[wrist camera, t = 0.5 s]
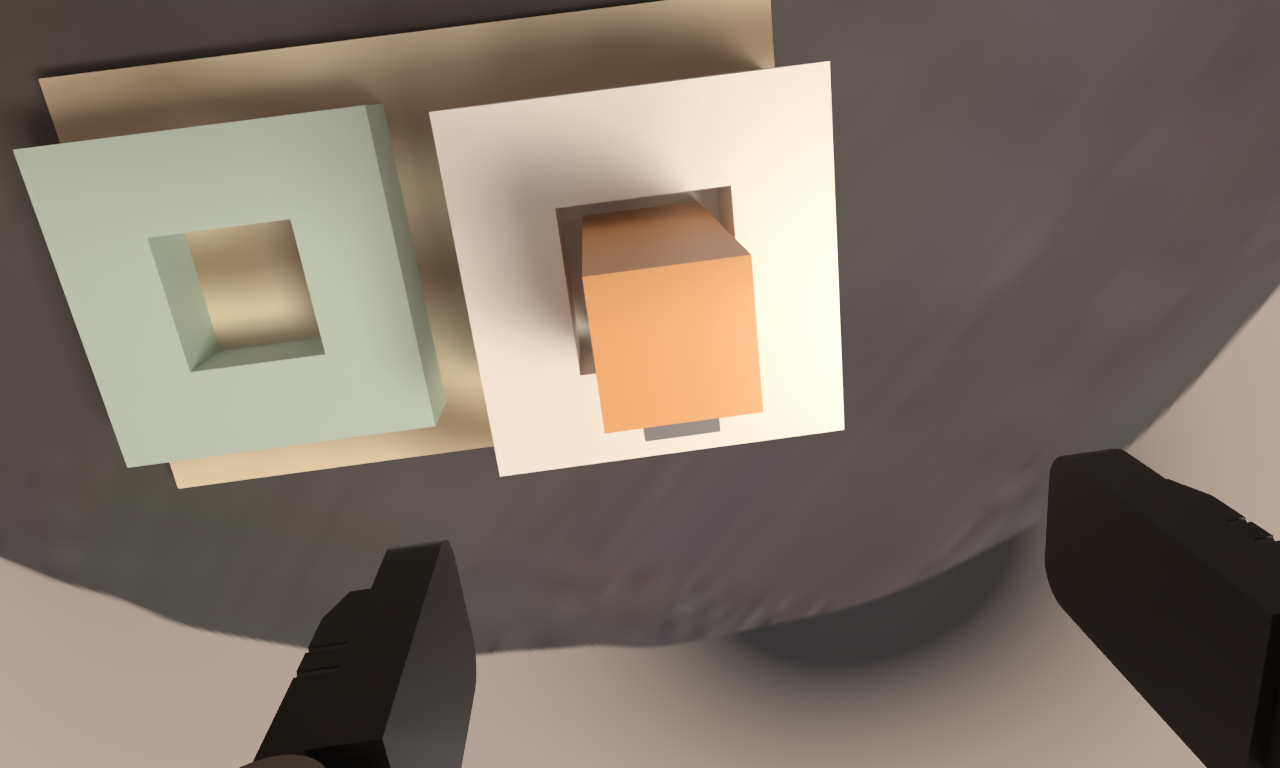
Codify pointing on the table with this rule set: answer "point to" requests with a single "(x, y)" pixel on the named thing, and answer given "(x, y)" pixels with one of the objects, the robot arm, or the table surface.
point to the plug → (670, 320)
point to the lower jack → (175, 305)
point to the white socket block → (631, 179)
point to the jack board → (409, 89)
